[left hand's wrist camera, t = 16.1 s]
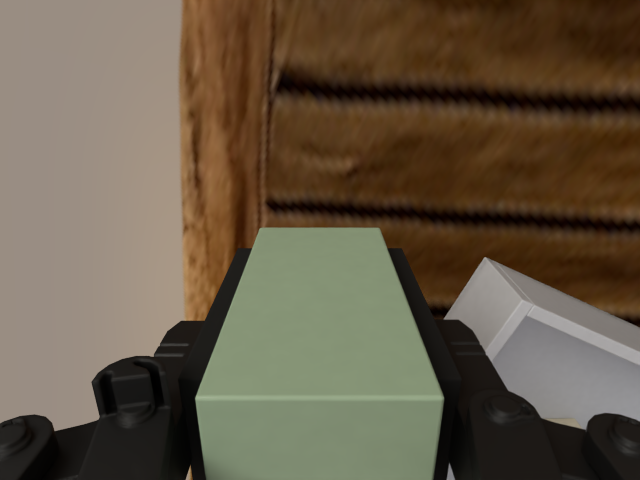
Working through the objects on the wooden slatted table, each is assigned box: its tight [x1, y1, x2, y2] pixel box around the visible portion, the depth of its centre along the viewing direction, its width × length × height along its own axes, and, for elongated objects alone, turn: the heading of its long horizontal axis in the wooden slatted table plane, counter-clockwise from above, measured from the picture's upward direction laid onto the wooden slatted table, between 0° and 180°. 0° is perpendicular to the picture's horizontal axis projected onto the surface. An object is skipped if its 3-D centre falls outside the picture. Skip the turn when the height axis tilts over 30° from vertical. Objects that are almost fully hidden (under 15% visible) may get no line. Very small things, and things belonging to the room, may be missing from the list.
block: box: [195, 228, 444, 480], centre depth 11 cm, size 4×4×8 cm
